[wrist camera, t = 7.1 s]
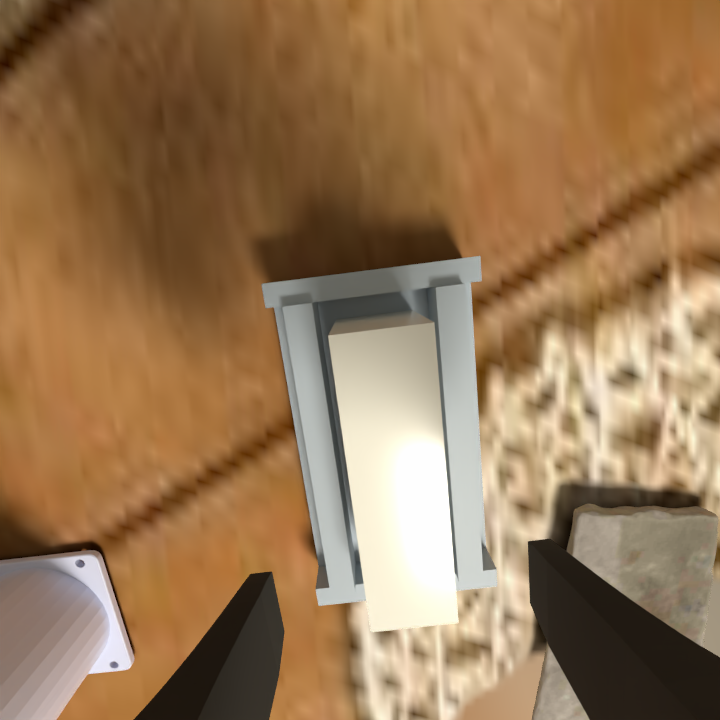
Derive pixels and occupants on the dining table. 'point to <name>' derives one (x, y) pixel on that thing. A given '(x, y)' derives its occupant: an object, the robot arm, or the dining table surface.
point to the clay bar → (396, 466)
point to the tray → (322, 420)
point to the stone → (639, 577)
